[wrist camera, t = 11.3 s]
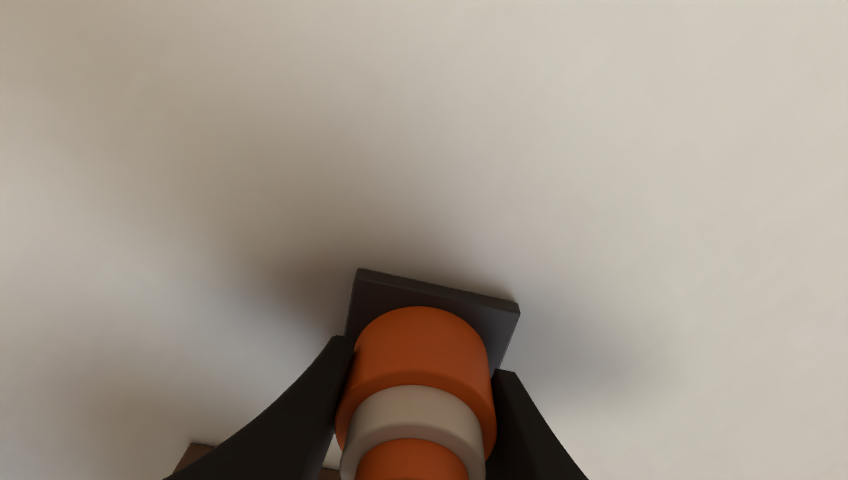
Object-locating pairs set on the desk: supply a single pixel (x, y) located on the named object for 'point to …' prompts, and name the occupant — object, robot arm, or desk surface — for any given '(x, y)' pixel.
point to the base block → (325, 477)
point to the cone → (420, 380)
